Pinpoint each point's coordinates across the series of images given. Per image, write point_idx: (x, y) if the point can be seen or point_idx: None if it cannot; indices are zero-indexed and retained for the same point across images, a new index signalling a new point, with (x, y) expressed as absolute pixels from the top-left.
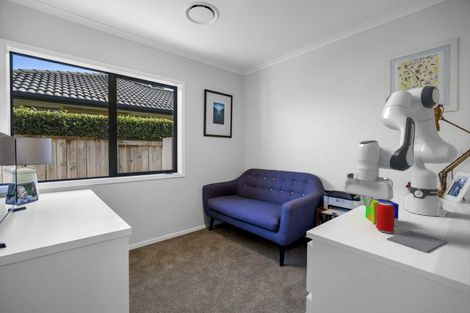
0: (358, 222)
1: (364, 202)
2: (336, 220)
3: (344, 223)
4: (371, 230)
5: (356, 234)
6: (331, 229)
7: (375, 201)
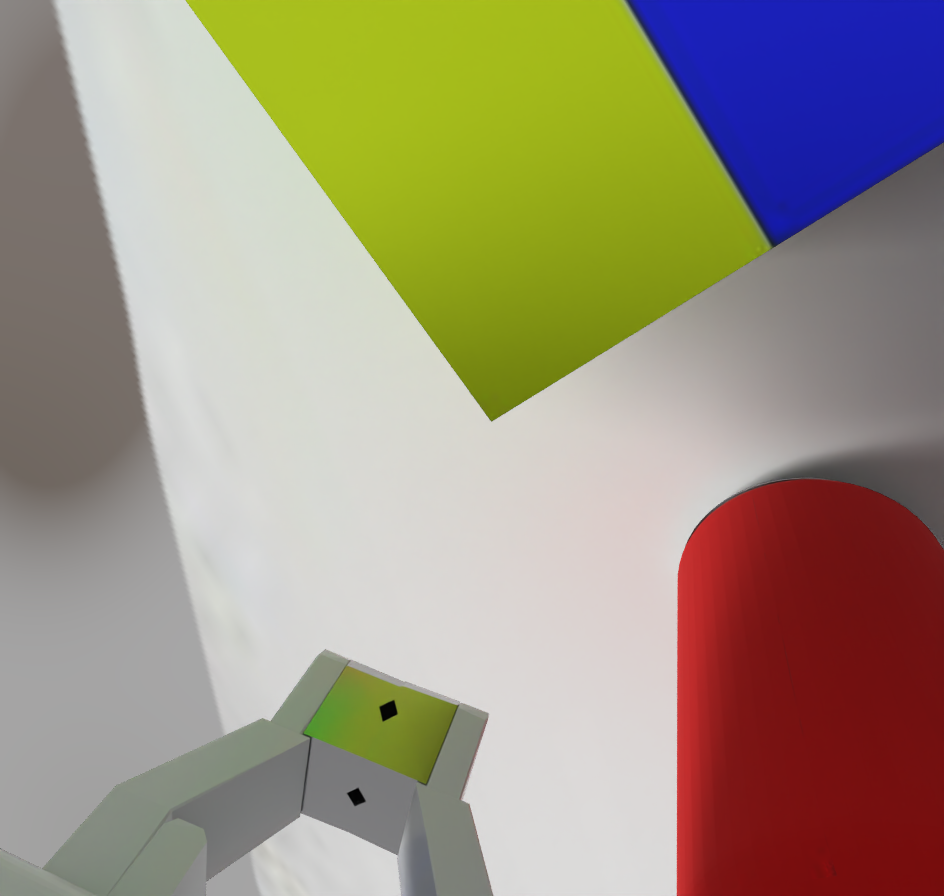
0: (396, 399)
1: (331, 806)
2: (194, 518)
3: (307, 571)
4: (632, 634)
5: (539, 828)
6: None
7: (423, 42)
